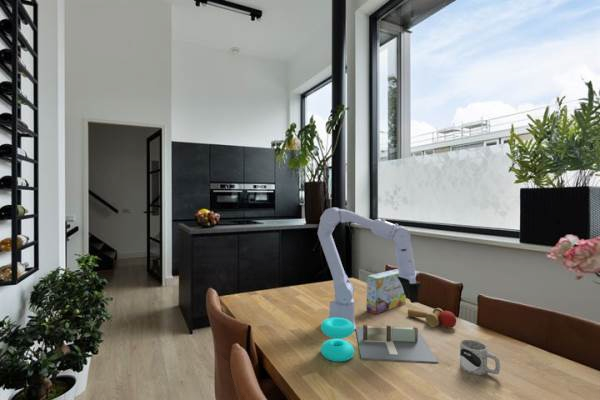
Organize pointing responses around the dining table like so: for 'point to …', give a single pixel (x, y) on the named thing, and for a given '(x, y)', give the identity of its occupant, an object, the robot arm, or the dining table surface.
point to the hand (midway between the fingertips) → (411, 298)
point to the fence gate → (405, 334)
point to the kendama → (435, 317)
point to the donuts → (337, 347)
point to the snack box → (384, 292)
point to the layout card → (395, 349)
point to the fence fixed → (376, 333)
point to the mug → (476, 358)
